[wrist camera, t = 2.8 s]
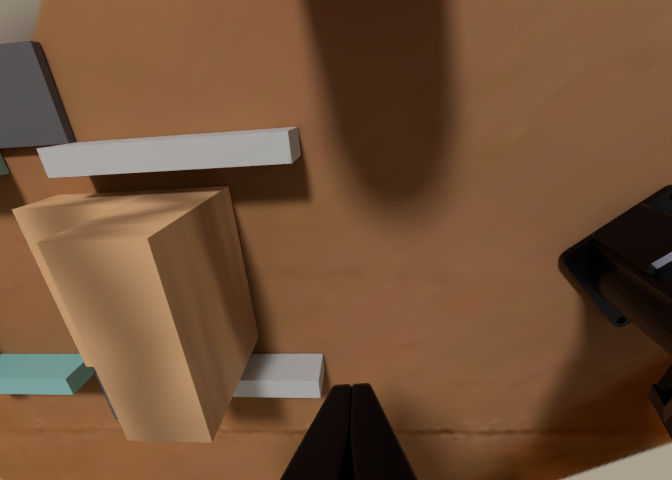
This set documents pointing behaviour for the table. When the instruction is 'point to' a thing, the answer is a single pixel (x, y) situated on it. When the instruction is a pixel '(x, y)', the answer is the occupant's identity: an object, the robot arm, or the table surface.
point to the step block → (151, 300)
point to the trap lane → (117, 158)
